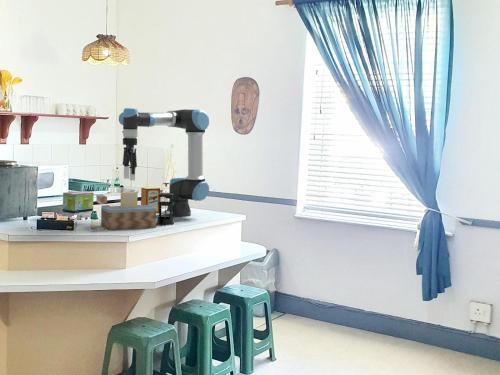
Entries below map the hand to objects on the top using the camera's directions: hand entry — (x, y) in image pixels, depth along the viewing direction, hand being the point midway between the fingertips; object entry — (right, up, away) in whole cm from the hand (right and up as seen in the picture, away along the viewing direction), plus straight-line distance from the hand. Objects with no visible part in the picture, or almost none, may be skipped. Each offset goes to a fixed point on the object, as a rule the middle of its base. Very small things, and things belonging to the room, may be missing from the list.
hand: (129, 179), depth 331 cm
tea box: (-35, -22, +27) cm, 49 cm away
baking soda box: (+2, -20, +54) cm, 58 cm away
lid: (-1, -18, +2) cm, 18 cm away
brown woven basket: (-2, -25, +4) cm, 26 cm away
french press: (+17, -25, +17) cm, 35 cm away
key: (-18, -13, +12) cm, 25 cm away
